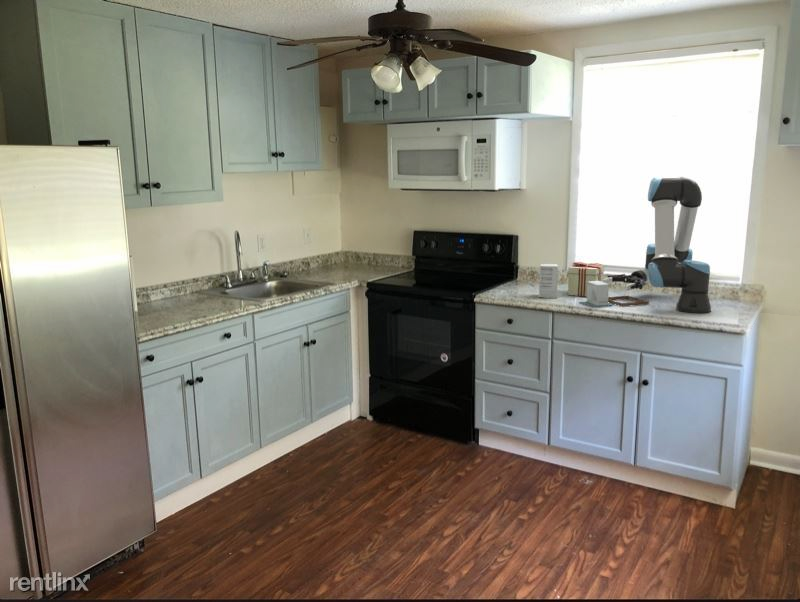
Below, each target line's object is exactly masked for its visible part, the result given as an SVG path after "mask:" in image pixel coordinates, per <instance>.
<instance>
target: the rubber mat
mask: <svg viewBox="0 0 800 602" xmlns="http://www.w3.org/2000/svg"><path fill="white" fill-rule="evenodd" d="M580 303H581V305H583V304H585V305H584V306H587V305H588V306H587V307H590V306H591V307H590V308H593V307H596V308H603V307H602V306H607V307H614V306H615V305H614V304H611V303H608V305H594V304H592V303H589V302H587V300H586V301H585V300H584V301H578V304H580ZM613 305H614V306H613Z"/></svg>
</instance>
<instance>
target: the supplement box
mask: <svg viewBox="0 0 800 602" xmlns="http://www.w3.org/2000/svg"><path fill="white" fill-rule="evenodd" d="M558 274H559V266H558V264H557V263H540V264H539V287H538V289H539V290H538V296H539V297H549V298H548V299H557V298H558V282H559V281H558V280H559V279H558V277H559V275H558ZM539 297H538V298H539Z"/></svg>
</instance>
